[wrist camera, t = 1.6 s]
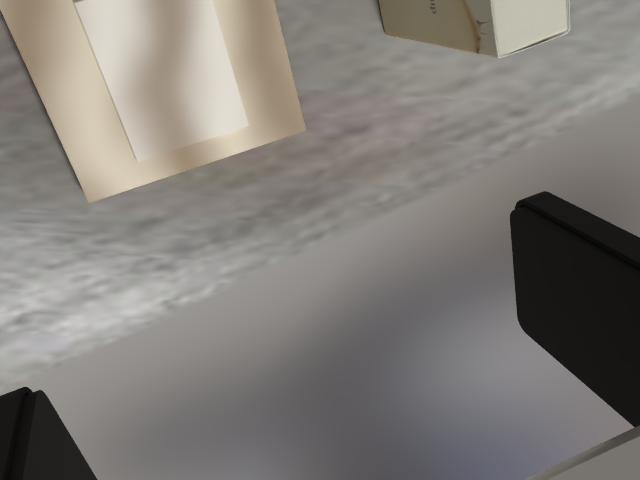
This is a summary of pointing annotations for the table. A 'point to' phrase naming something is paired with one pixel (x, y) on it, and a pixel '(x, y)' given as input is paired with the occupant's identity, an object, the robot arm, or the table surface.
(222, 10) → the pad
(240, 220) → the table surface
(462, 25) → the skincare box
